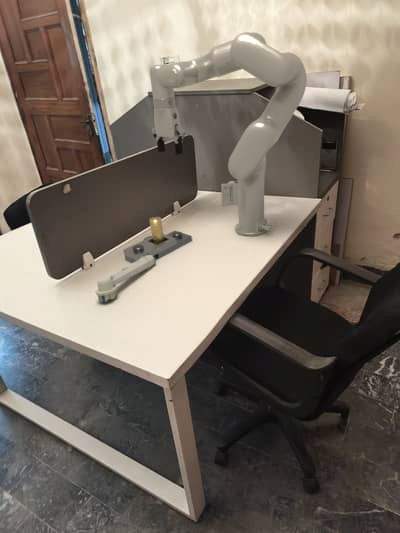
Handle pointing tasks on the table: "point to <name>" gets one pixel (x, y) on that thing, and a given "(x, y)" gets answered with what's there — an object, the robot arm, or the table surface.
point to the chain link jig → (156, 246)
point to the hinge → (229, 193)
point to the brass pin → (156, 230)
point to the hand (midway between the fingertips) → (170, 152)
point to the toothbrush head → (122, 277)
